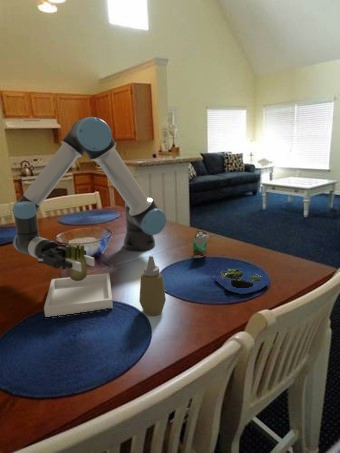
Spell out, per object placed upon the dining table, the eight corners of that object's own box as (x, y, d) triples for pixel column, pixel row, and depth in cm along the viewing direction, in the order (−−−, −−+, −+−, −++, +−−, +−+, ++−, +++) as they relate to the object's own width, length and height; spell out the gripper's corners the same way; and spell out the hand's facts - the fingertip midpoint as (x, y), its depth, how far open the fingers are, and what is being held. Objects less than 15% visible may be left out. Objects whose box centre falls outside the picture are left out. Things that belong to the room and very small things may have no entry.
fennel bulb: (66, 280, 105) (63, 245, 102) (75, 275, 110) (73, 241, 106) (81, 283, 103) (78, 247, 100) (90, 277, 108) (87, 243, 104)
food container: (207, 261, 137) (207, 238, 134) (192, 260, 138) (193, 238, 135) (209, 250, 149) (210, 230, 146) (196, 250, 150) (196, 229, 147)
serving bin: (109, 281, 120) (109, 273, 119) (112, 309, 101) (112, 299, 100) (53, 288, 116) (51, 279, 115) (45, 318, 97) (43, 307, 96)
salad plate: (201, 277, 123) (201, 266, 122) (239, 268, 130) (240, 257, 129) (232, 299, 106) (232, 287, 105) (274, 288, 114) (275, 276, 112)
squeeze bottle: (139, 304, 103) (137, 252, 98) (165, 303, 104) (163, 251, 99) (139, 319, 96) (136, 262, 91) (167, 317, 96) (165, 261, 91)
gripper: (66, 252, 123) (108, 266, 109) (22, 267, 109) (64, 285, 96) (64, 233, 121) (107, 245, 107) (19, 246, 107) (61, 262, 94)
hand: (86, 264), depth 101 cm, fingers closed on fennel bulb, 4 cm apart
